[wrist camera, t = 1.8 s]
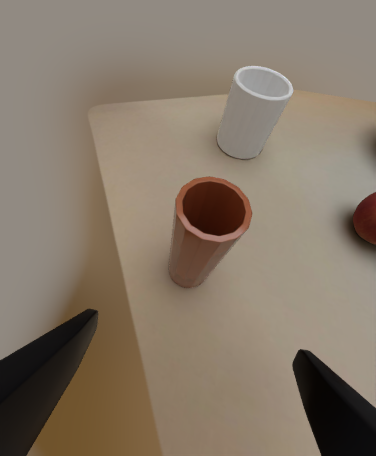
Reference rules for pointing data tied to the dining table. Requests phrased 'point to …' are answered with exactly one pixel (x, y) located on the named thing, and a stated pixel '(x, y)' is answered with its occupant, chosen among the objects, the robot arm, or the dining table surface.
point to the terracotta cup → (205, 228)
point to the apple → (366, 219)
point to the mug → (252, 110)
